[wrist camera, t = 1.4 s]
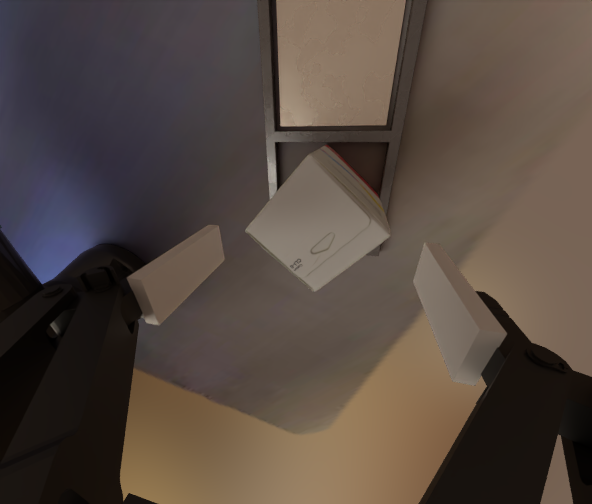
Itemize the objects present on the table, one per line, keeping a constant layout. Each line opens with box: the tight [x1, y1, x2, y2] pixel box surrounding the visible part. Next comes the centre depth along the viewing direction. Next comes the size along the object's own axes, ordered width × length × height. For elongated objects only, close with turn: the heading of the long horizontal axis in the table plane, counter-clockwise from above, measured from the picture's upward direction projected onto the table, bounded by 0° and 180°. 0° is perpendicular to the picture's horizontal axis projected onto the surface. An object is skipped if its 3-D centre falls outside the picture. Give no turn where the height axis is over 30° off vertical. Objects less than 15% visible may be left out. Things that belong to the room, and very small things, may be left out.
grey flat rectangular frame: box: [257, 0, 427, 256], centre depth 24 cm, size 14×27×1 cm, turn 0°
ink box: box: [245, 144, 391, 292], centre depth 22 cm, size 9×9×12 cm
